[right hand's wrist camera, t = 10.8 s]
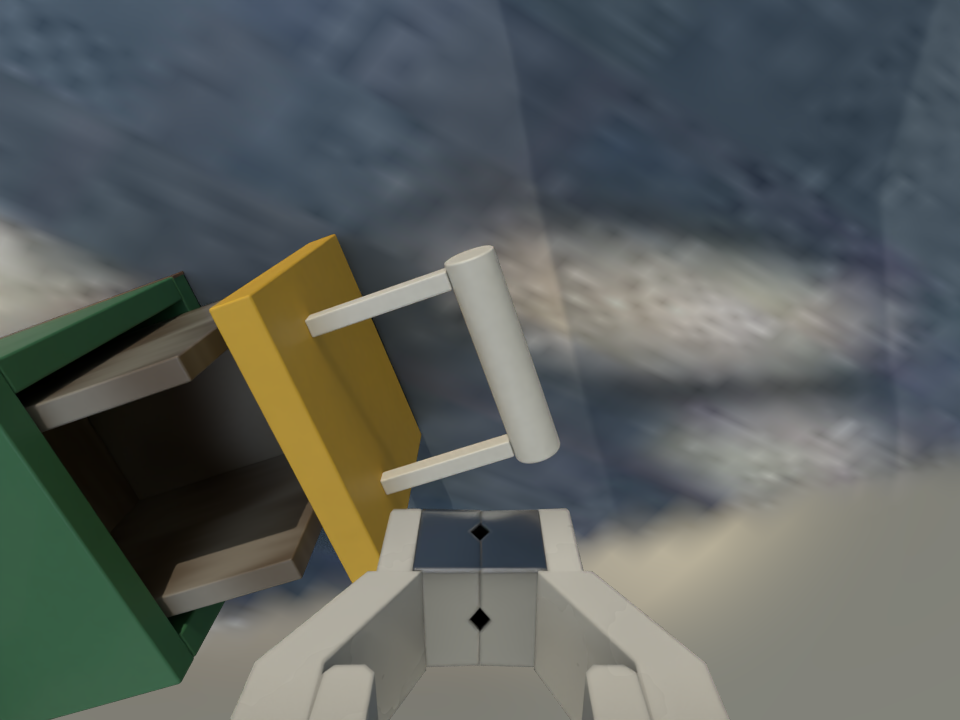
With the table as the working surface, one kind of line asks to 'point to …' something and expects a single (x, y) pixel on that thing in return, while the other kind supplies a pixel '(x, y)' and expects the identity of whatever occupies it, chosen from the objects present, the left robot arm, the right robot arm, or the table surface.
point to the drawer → (274, 424)
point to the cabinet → (76, 542)
